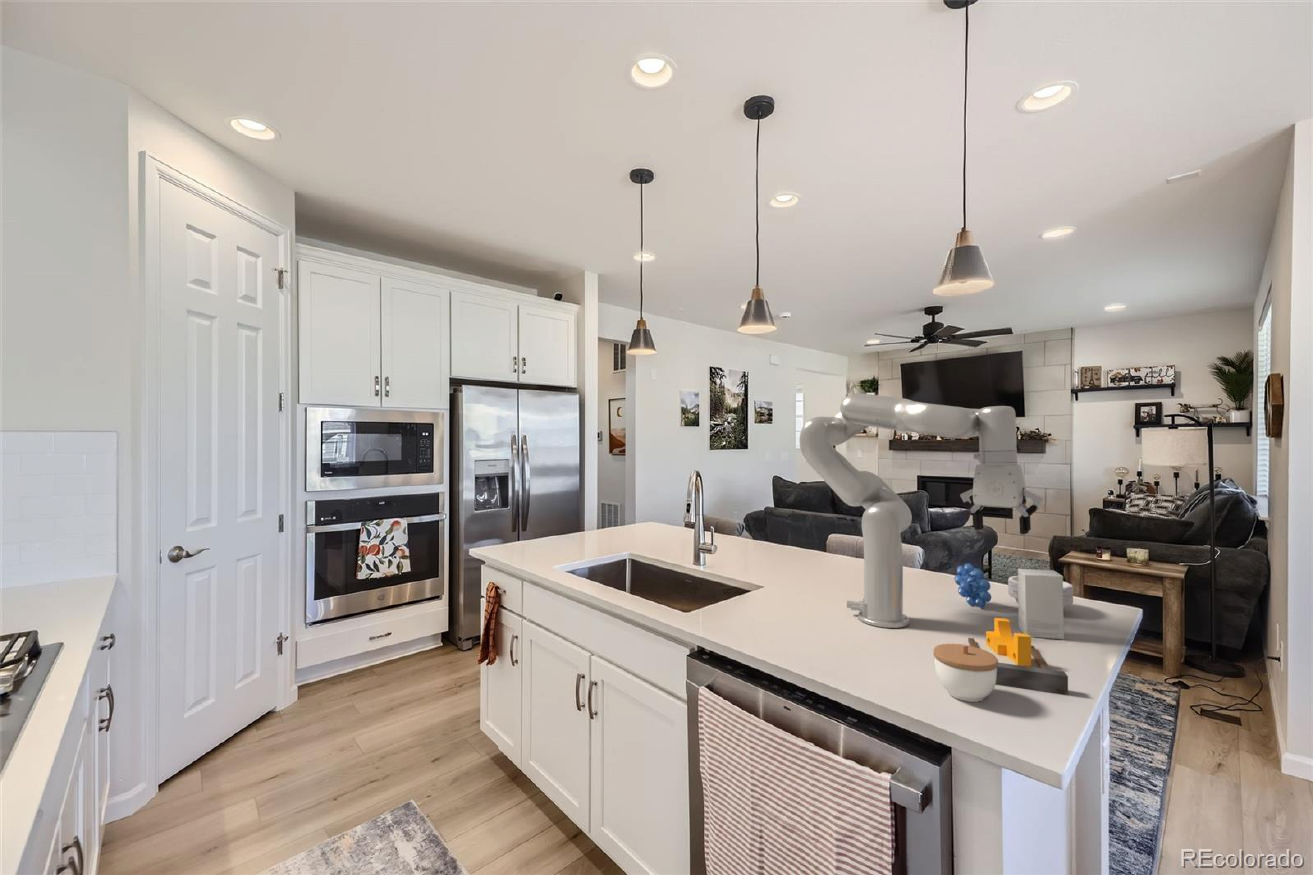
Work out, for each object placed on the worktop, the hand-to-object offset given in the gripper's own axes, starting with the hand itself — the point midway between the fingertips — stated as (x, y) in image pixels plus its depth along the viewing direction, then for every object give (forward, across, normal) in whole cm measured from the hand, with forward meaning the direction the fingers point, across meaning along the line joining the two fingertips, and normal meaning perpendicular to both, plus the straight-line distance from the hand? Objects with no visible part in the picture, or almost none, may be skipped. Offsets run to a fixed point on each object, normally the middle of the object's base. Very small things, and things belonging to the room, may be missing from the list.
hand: (1001, 531), depth 129 cm
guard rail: (+27, +5, -11) cm, 29 cm away
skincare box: (+27, +2, +15) cm, 31 cm away
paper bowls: (+27, -5, +38) cm, 47 cm away
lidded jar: (+27, +5, -33) cm, 43 cm away
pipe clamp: (+27, +2, -5) cm, 28 cm away
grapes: (+27, -18, +25) cm, 41 cm away
